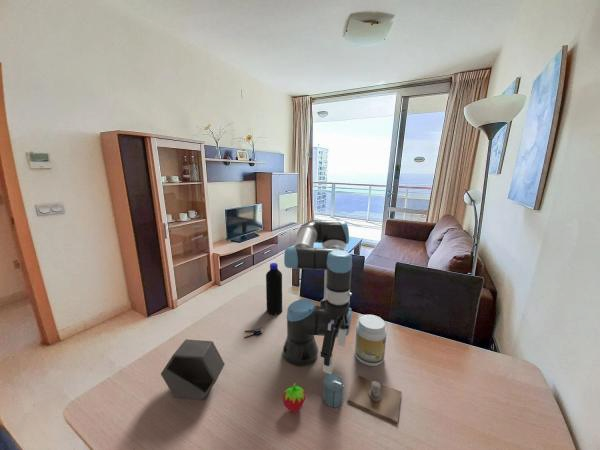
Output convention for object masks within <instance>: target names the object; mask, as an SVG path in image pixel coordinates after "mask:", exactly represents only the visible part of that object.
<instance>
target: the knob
mask: <svg viewBox="0 0 600 450" xmlns="http://www.w3.org/2000/svg"><path fill="white" fill-rule="evenodd" d="M322 384H323V385H322V386H323V387H322V399H323V401H324V404H325V405H326V406H328V407H331V408H333V409H334V408H337V407H341V406H342V403H343V401H344V391H345V390H344V389H345V384H344V380H343V378H342V377H341V376H340V375H339V374H337V373H332V374H329V373H327V374H326V376H324V378H323V383H322Z"/></svg>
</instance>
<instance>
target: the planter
mask: <svg viewBox="0 0 600 450" xmlns="http://www.w3.org/2000/svg"><path fill="white" fill-rule="evenodd" d="M224 367H225V362H224V360H223V358H222V356H221V355H220V352H219V351H218V350H217V347H216V345H215V344H214V341H211V340H199V339H184V340H183V342H181V345H180V346H179V347H178V348H177V349H176V351H175V352H174V353H173V355H171V358H170V359H169V361H168V362H167V363H166V365H165V367H164V368H163V370H162V371H161V372H160V376H161V377H162V379H163V380H164V382H165V384H166V386H167V387H168V389H169V391H170V392H171V394H172V395H173V397H174V398H175V397H178V398H177V399H186V400H198V401H203V400H204V398H206V397H207V395H208V393H209V392H210V390H211V389H212V388H213V387H214V385H215V384H216V383H217V381H218V379H219V376H220V375H221V372H222V370H223V368H224Z"/></svg>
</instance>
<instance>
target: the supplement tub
mask: <svg viewBox="0 0 600 450" xmlns="http://www.w3.org/2000/svg"><path fill="white" fill-rule="evenodd" d="M355 328H356V329H355V330H356V331H355V344H354V345H355V347H354V355H355V357H356V359H357V360H358V361H359V362H361V363H362V364H364V365H366V366H370V367H376V366H379V365H382V363H383V362H384V361H385V353H386V342H387V329H386V323H385V321H384V319H382V318H381V317H380V316H379V315H378V316H377V315H374V314H364V315H361V316H360V317H358V323H357V324H356V327H355Z"/></svg>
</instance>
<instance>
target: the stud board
mask: <svg viewBox="0 0 600 450" xmlns="http://www.w3.org/2000/svg"><path fill="white" fill-rule="evenodd" d="M401 396H402V391H400V390H398V389H396V388H393V387H391V386H388V385H385V384H383V383H380V382H378V381H376V380H372V379H369V378H368V377H365V376H362V375H360V374H356V375H355V379H354V381H353V384H352V387H351V390H350V392H349V395H348V397H347V403H349V404H351V405H353V406H355V407H357V408H359V409H363V410H365V411H367V412H369V413H371V414H373V415H374V416H375V415H376V416H377V417H380V418H382V419H385V420H387V421H389V422H391V423H394V424H396V425H398V421H399V413H400V404H401V398H402V397H401Z"/></svg>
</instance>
